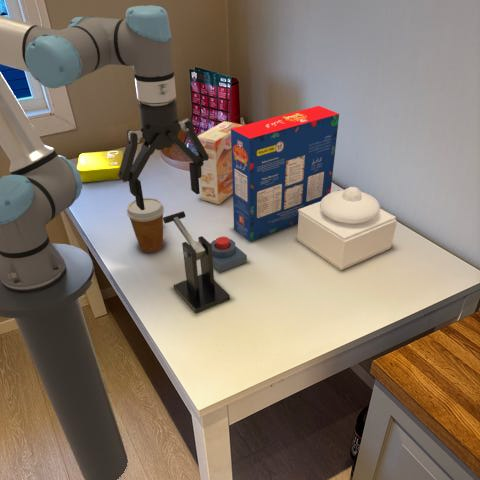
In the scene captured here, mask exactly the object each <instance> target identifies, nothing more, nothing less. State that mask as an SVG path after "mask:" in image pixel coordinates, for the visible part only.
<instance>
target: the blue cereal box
mask: <svg viewBox="0 0 480 480" xmlns="http://www.w3.org/2000/svg"><path fill="white" fill-rule="evenodd" d="M339 119H340V113H339V112H336V111H333V110H331V109H329V108H326V107H323V106H320V105H316V106H312V107H308V108H303V109H301V110H297V111H293V112H289V113H284V114H282V115H278V116H274V117H270V118H265V119H263V120H259V121H255V122H251V123H248V124H247V123H246V124H242V125H243V126H239V127H235V128H232V129H231V150H232V181H233V194H232V207H233V210H232V211H233V230H234V231H235V232H236V233H238V234H239V235H241V236H242V237H243V238H244V239H246V241H248V242H250V243H252V242H254V241H257V240H259V239H262V238H265V237H267V236H270V235H272V234H276V233H277V232H280V231H283V230H285V229H289V228H291V227H293V226H295V225H298V218H299V212H298V209H301V208H304V207H306V206H309V205H312V204H315V203H317V202H320V201H321V200H322V199H323V198H324V197H325V196H326V195H328V194H330V193H332V185H333V184H332V183H333V174H334V166H335V158H336V157H335V156H336V149H337V139H338V130H339Z"/></svg>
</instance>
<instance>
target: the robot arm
mask: <svg viewBox="0 0 480 480" xmlns="http://www.w3.org/2000/svg"><path fill="white" fill-rule="evenodd" d="M172 39H173V38H172V33H171V27H170V19H169V15H168V12H167V10H166V9H165V8H164V7H162V6H159V5H150V4H149V5H136V6H131V7H128V8H127V9H126V11H125V18H109V17H96V16H94V15H87V16H76V17H74V18H73V19H71V20H70V24H68V26H67V27H66V28H62V29H53V28H49V27H45V26H41V25H37V24H35V23H31V22H27V21H25V20H19V19H15V18H12V17H9V16H4V15H1V14H0V65H2V66H5V67H9V68H13V69H17V70H21V71H23V72H27V73H30V76H31V77H33V79H34V80H36V81H37V82H38V83H40V85H41V86H43V87H45V88H48V89H59V88H62V87H67V86H69V85H72V84H73V83H74V82H76V81H78V80H79V79H81V78H83V77H85V76H87V75H89V74H92V73H93V72H96V71H98V70H100V69H102V68H104V67H106V66H109V65H110V66H111V65H116V66H124V67H125V66H128V67H131V66H132V70H133V76H134V82H135V90H136V91H135V92H136V99H137V100H138V101H139V102H138V105H137V106H138V111H139V119H140V123H141V128H140V130H135V131H133V130H132V129H128V130H127V131H126V139H127V140H126V144H125V149H124V152H123V159H122V162H121V166H120V170H119V173H118V176H119V177H120V178H121V179H120V180H121V181H122V182H125V183H126V182H128V187H129V192H130V194H132V196H133V197H135V200H136V204H137V206H138V207H139V208H140V209H141V210H145V207H144V201H143V198H144V195H143V188H142V183H141V182H142V181H140V179H139V178H140V175H141V174H142V172H143V170H144V168H145V166H146V165H147V163H148V161H149V159H150V157H151V156H152V155H153V154H154V153H155V151H156V150H157V151H160V150H163V149H165V148H166V149H168V148H172V146H174V145H175V146H176V147H177V148H178V149H179V150H180V151H181V152H182V153H183V154H184V155H185V156H187V158H188V159H190V160H191V162H189V163H188V164H189V178H190V179H189V180H190V191H192V192H193V193H195V194H196V195H201V192H200V179H199V178H201V176H202V172H201V166H203V164H204V163H203V161H205V160H206V161H207V160H208V159H209V156H208V154H207V153H206V151H205V149H204V147H203V145H202V144H201V142H200V140H199V138H198V137H197V136H198V135H197V133H196V131H195V127H194V122H193V121H192V120H191V119H189V118H187V117H183V118H182V120H180V121H179V112H178V101H177V100H176V98H177V91H176V89H177V88H176V79H175V71H174V60H173V59H174V58H173V48H172V47H173V45H172ZM181 130H182V131H183V132H185V135H186V136H187V138H188V140H189V141H190V143H191V144H192V147H193V148H194V150H195V152H196V153H197V154H195V153H194V152H193V151H192V150H191V149H190V148H189V147H188V146H187V145H186V144H185V143H184V142H183V141H182V140H181V139H180V138H179V137H178V136H179V134H180V132H181ZM141 139H143V141H142V144H141V146H140V147H141V148H140V149H139V152H138V154H137V155H136V153H137V150H138V144H139V143H140V142H141ZM0 147H1V149H2V150H3V152H4V153H5V154H6V157H7V158H8V159H9V161H10V164H9V169H8V171H9V174H8V175H7V174H6V175H2V176H1V178H0V279H1V281H2V284H3V286H4V287H5V288H6V289H8V290H10V291H13V292H19V293H29V292H35V291H39V290H43V289H46V288H48V287H50V286H52V285H54V284H55V283H57V282H58V281H59V280H61V279H62V277H63V276H64V275H65V273H66V265H65V261H64V259H63V257H62V256H61V255H60V253H59V252H58V251H57V250H56V248H55V247H54V246H53V243H52V241H51V240H50V237H49V234H48V231H47V227H46V226H47V224H48V223H50V222H52V221H53V220H54V219H55V218H57V216H59V215H60V214H61V213H62V212H63V211H65V210H66V209H68V208H70V207H71V206H72V205H73V204H74V203H75V202H76V200H78V199H79V197H80V196H81V193H82V190H83V182H82V180H81V176H80V173H79V171H78V169H77V165H75V163H74V162H73V161H72V160H70V159H68V158H67V157H66V156H63V155H60V154H58V153H57V151H56V150H55V148H54V147H51V146H48V145H46V144H44V142H43V140H42V139H41V137H40V135H39V134H38V132H37V130H36V129H35V126H34V125H33V124H32V122H31V121H30V119H29V117H28V115H27V114H26V112H25V110H24V109H23V107H22V106H21V104H20V102H19V101H18V99H17V97H16V95H15V94H14V92H13V90H12V89H11V87H10V85H9V84H8V82H7V80H6V79H5V77H4V76H3V74H2V72H1V71H0ZM135 156H136V157H135Z"/></svg>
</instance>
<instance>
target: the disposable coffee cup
mask: <svg viewBox="0 0 480 480" xmlns="http://www.w3.org/2000/svg"><path fill="white" fill-rule="evenodd" d="M143 201H144V207H145V210H141V209H140V208H139V207H138V206H137V204H136V199H133V200H132V201H130V202H129V203H128V205H127V209H126V215H127V216H128V218H129V220H130V224H131V226H132V229H133V232H134V235H135V238H136V241H137V244H138V247H139V249H140V250H141V251H142V252H145V253H154V252H157V251H159V250H162V248H163V246H164V221H163V217H164V212H165V206H164V204H162V202H161V200H159V199H158V198H155V197H143Z"/></svg>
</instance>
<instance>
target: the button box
mask: <svg viewBox="0 0 480 480" xmlns="http://www.w3.org/2000/svg"><path fill="white" fill-rule="evenodd" d="M215 240H216V239H214V240H212V241H211V242H209V243H210V244H211V245H212V256H213V268H214V269H216V270H217V272H219V273H222V272H225V271H227V270H231V269H233V268H235V267H238V266H240V265H243V264H246V263H247V262H248V260H247V259H248V258H247V257H248V256H247V254H246V253H245V252H244V251H242V250H241V249H240V248H239V247H238V246H237V245H236V242H235V241H234V240H233V239H230V238H229V240H230V247H229V248H228V249H224V250H220V249H217V248H216V245H215Z"/></svg>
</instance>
